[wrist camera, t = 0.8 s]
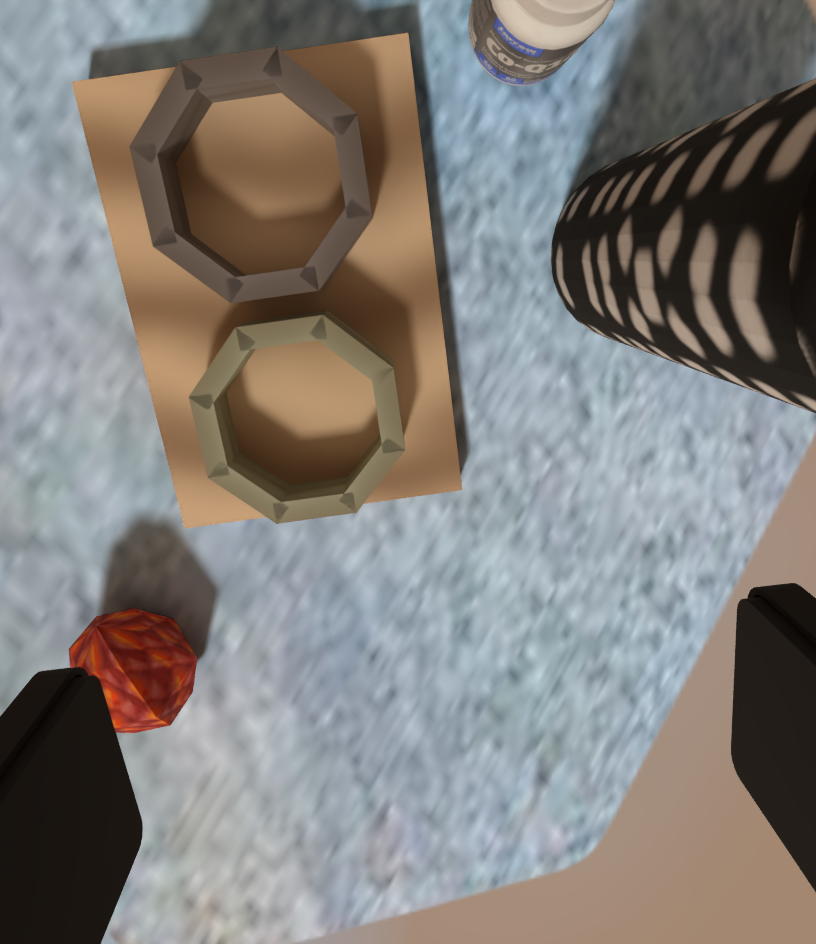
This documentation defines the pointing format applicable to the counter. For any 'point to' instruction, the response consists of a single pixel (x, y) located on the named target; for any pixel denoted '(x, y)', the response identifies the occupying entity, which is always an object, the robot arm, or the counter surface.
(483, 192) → the counter surface
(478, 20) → the pill bottle
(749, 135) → the spotted tube
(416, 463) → the socket board
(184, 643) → the decorative stone
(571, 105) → the counter surface
